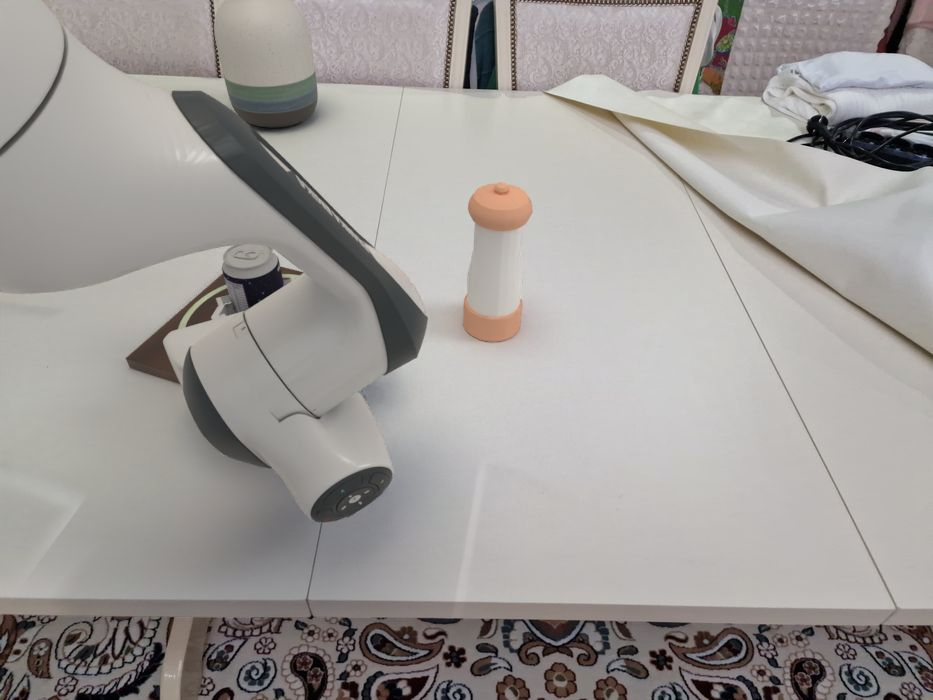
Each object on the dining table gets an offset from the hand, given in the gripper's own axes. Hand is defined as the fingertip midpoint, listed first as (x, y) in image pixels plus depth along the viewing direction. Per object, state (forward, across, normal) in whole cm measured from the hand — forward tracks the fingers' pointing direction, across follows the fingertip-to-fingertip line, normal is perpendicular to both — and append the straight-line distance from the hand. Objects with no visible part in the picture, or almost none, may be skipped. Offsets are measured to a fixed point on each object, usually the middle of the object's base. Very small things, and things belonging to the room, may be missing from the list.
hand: (256, 292), depth 67 cm
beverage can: (-1, 0, +7) cm, 7 cm away
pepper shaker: (-7, -26, +9) cm, 29 cm away
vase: (+68, -20, +9) cm, 71 cm away
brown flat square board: (+4, 0, +9) cm, 10 cm away
